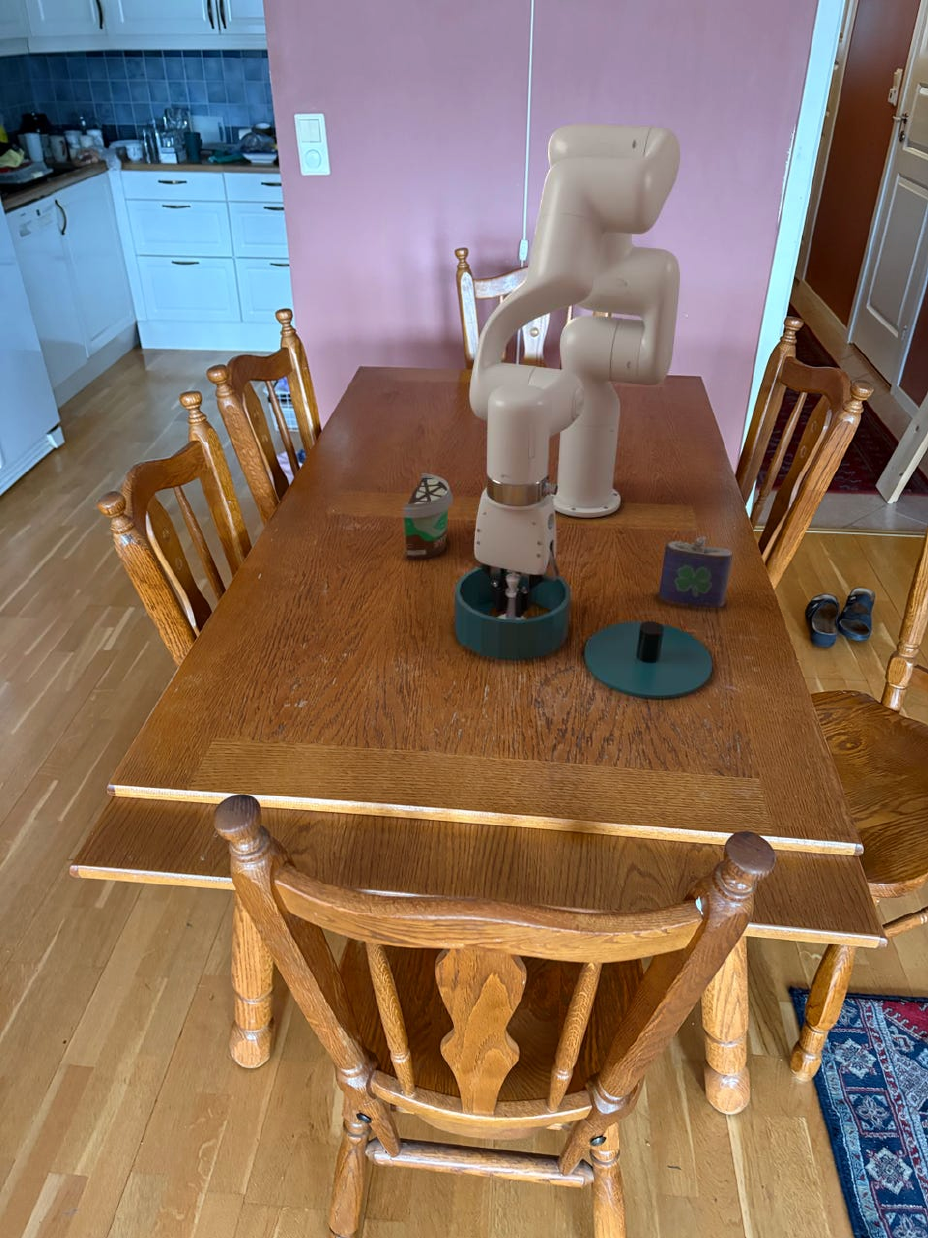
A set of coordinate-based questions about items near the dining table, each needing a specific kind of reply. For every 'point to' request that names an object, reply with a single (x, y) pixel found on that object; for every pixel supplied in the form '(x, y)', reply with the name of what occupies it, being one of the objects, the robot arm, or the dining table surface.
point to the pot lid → (648, 660)
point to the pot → (509, 634)
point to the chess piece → (511, 595)
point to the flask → (695, 573)
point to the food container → (427, 517)
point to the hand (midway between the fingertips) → (512, 609)
